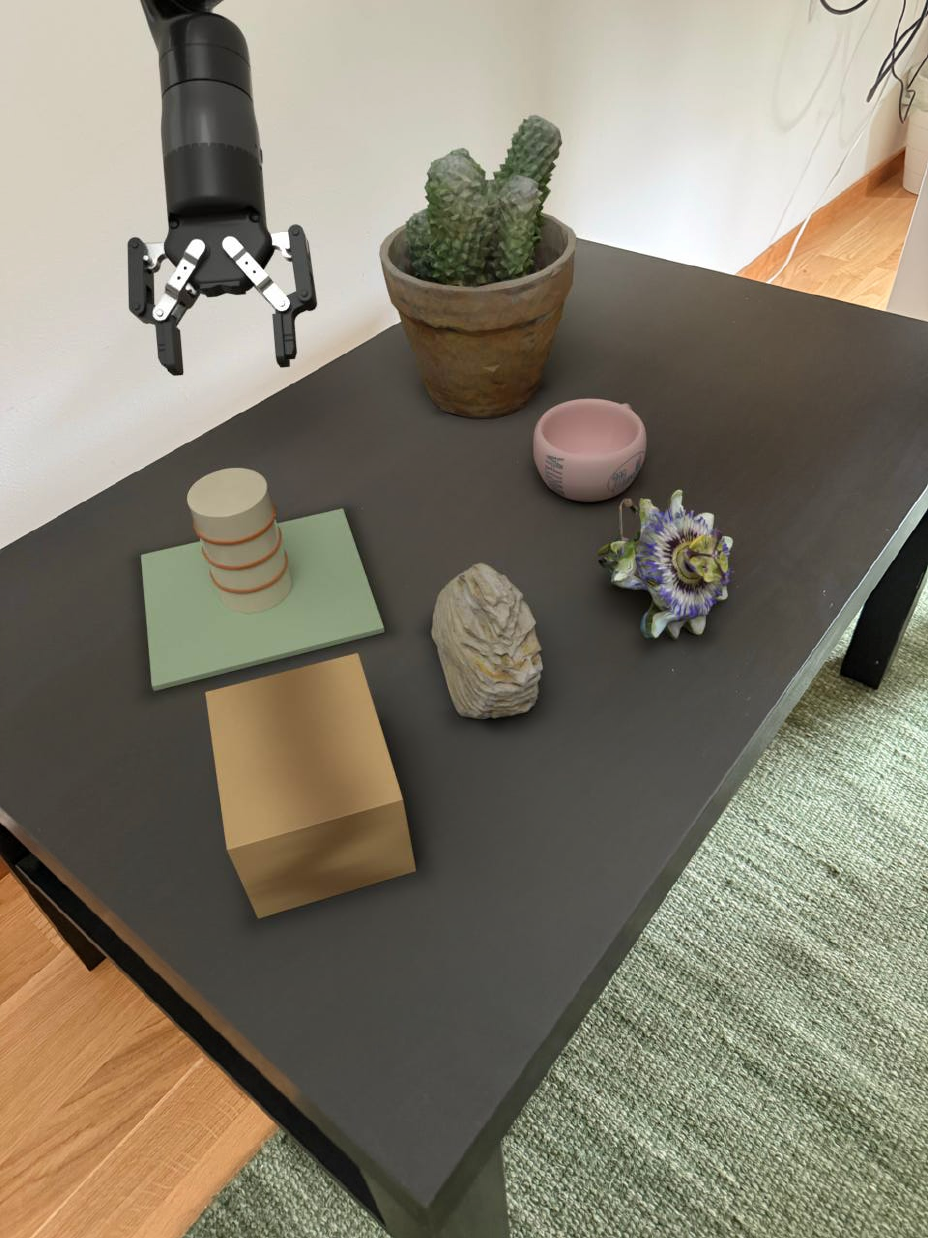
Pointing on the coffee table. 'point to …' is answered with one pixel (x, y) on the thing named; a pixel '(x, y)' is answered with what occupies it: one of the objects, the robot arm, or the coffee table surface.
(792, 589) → the coffee table surface
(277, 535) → the banded jar
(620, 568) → the passion flower
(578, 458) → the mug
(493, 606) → the fossil tooth
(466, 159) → the potted plant
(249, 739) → the stand
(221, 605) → the mat
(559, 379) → the coffee table surface
